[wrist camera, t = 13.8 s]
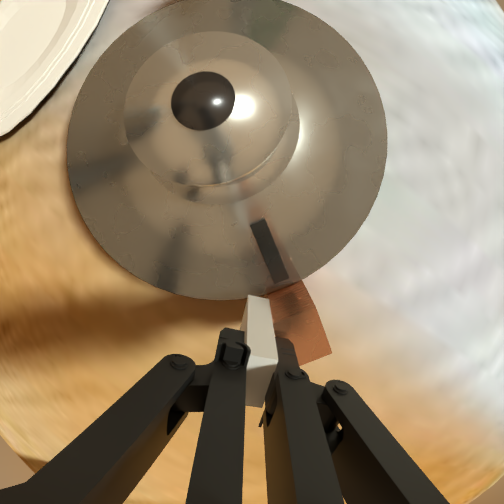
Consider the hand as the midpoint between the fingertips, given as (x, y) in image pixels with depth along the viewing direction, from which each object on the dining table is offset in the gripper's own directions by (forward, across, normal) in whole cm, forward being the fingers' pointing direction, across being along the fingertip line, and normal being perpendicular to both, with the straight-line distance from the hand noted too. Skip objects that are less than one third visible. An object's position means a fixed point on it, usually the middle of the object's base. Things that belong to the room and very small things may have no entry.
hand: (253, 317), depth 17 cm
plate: (+6, -30, +21) cm, 37 cm away
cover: (+2, -5, +11) cm, 12 cm away
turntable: (+3, -4, +10) cm, 11 cm away
